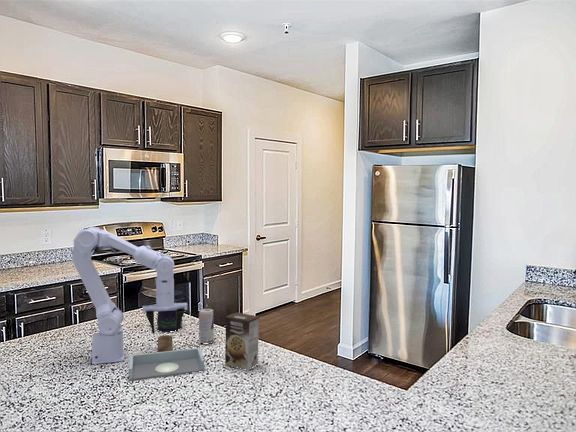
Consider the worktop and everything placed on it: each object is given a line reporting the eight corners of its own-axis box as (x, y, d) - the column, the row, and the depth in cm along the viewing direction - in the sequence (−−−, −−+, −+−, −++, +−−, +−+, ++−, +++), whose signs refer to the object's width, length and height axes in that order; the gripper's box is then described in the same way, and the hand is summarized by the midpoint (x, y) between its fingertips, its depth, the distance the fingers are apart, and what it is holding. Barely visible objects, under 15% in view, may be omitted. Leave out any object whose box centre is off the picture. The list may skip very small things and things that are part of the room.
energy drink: (215, 340, 156) (215, 308, 155) (211, 345, 150) (211, 312, 150) (201, 339, 156) (201, 308, 156) (196, 344, 151) (197, 312, 150)
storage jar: (155, 326, 171) (155, 290, 170) (179, 323, 175) (179, 288, 174) (158, 333, 162) (158, 296, 161) (184, 330, 166) (184, 294, 165)
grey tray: (129, 381, 121) (129, 369, 121) (130, 366, 131) (130, 355, 131) (204, 371, 128) (204, 360, 128) (199, 358, 138) (199, 347, 138)
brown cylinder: (157, 358, 138) (157, 340, 138) (157, 353, 142) (157, 336, 142) (172, 356, 139) (172, 339, 139) (171, 351, 144) (171, 334, 144)
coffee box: (224, 365, 133) (224, 316, 132) (235, 359, 138) (236, 311, 138) (248, 372, 128) (248, 320, 128) (259, 364, 134) (259, 315, 133)
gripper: (142, 296, 134) (142, 337, 134) (188, 293, 138) (188, 333, 139) (142, 291, 140) (142, 331, 141) (186, 288, 145) (186, 327, 146)
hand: (165, 331), depth 141 cm, fingers open, 7 cm apart
